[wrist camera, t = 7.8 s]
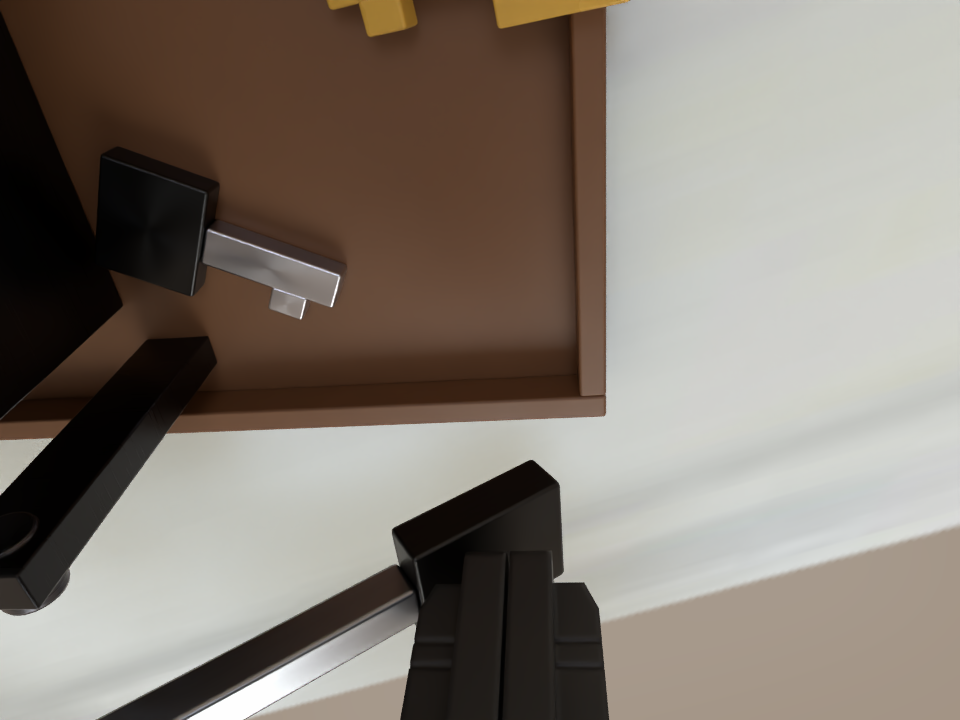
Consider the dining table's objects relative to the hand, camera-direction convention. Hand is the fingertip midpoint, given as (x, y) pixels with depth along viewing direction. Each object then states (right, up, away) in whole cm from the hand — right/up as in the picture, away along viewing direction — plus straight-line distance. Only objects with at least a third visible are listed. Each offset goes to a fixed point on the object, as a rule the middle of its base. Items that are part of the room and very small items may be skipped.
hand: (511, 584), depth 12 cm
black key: (-6, +7, +3) cm, 10 cm away
